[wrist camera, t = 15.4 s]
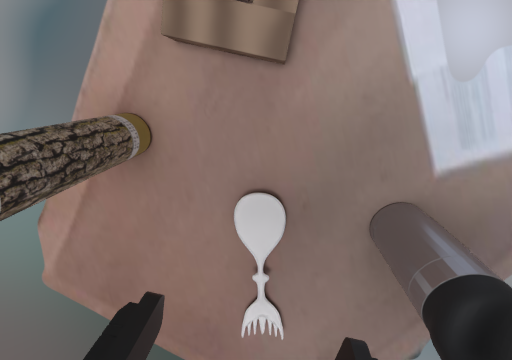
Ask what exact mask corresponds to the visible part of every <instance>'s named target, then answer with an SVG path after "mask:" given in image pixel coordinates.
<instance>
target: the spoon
mask: <svg viewBox="0 0 512 360" xmlns="http://www.w3.org/2000/svg"><path fill="white" fill-rule="evenodd" d="M234 222H235V227H236V231H237V233H238V236H239V237H240V239H241V241H242V242H243V243H244V245H245V246H246V247H247V248H248V250H249V251H250V252H251V253H252V255H253V256H254V258H255V259H256V262H257V266H258V273H256V274H254V275H253V276H252V278H253V280H254V281H255V282H256V283H257V286H258V297H257V299H256V301H254V302H253V303H252V304H251V305H250V306H249V307H248V309H247V310H246V312H245V315H244V320H243V324H242V338H243V336H244V332H245V327H246V326H248V334H249V335H250V329H251V323H252V321H253V327H254V334H255V333H256V326H257V320H258V319H259V322H260V329H261V333H262V334H263V333H264V329H265V323H266V319H267V320H268V326H269V333H270V335H271V328H272V323H273V325H274V331H275V336H277V328H279V330H280V334H281V338H282V340H283V326H282V322H281V318H280V315H279V312H278V311H277V309H276V308H275V307H274V306H273V305H272V304H271V303H270V302H269V301H268V300H267V299H266V297H265V292H264V286H265V283H266V282H267V281H268V280H269V276H268V275H267V274H265V273H264V272H263V265H264V262H265V259H266V258H267V256H268V255H269V254H270V252H271V251H272V250H273V249H274V248H275V246H276V245H277V244H278V242H279V241H280V239H281V238H282V236H283V233H284V230H285V225H286V214H285V210H284V208H283V206H282V204H281V202H280V201H279V200H278V199H277V198H275V197H274V196H272V195H270V194H266V193H251V194H248V195H246V196H244V197H242V198H241V199H240V200H239V201H238V203H237V205H236V207H235V210H234Z"/></svg>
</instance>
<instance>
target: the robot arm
mask: <svg viewBox="0 0 512 360" xmlns="http://www.w3.org/2000/svg"><path fill="white" fill-rule="evenodd" d="M370 234H371V237H372V239H373V241H374V242H375V244H376V246H377V247H378V249H379V250H380V252H381V254H382V256H383V257H384V259H385V260H386V262H387V264H388V265H389V267H390V269H391V270H392V272H393V273H394V275H395V277H396V278H397V280H398V281H399V283H400V285H401V286H402V288H403V290H404V291H405V293H406V294H407V296H408V298H409V299H410V301H411V302H412V304H413V306H414V307H415V309H416V310H417V312H418V314H419V315H420V317H421V319H422V320H423V322H424V323H425V325H426V327H427V328H428V330H429V332H430V337H431V340H432V343H433V345H434V347H435V349H436V351H437V353H438V354H439V356H440V358H441V360H512V288H511V287H510V286H509V285H508V284H506V283H505V282H504V281H503V280H502V279H501V278H499V277H498V276H497V275H496V274H495V273H494V272H492V271H491V270H490V269H489V268H488V267H487V266H485V265H484V264H483V263H482V262H481V261H479V260H478V259H477V258H476V257H475V256H474V255H473V254H471V253H470V251H469V249H468V248H466V247H465V246H464V245H463V244H462V243H461V242H459V241H458V240H457V239H456V238H455V237H454V236H452V235H451V234H450V233H449V232H448V231H447V230H445V229H444V228H443V227H442V226H441V225H440V224H438V223H437V222H436V221H435V220H434V219H433V218H431V217H429V216H428V215H426V214H425V213H424V212H423V211H422V210H421V209H419V208H418V207H417V206H414V205H412V204H408V203H395V204H391V205H388V206H386V207H384V208H382V209H381V210H380V211H379V212H378V213H377V214H376V215H375V216H374V218H373V219H372V221H371V224H370ZM163 308H164V295H161V294H157V293H152V292H146V293H145V294H144V296H143V297H142V299H141V300H140V302H139V303H138V304H137V303H132V302H129V303H128V304H127V305H125V306H124V307H123V308H121V309H120V310H119V311H118V312H117V313H116V314H115V316H114V317H113V319H112V320H111V321H110V323H109V325H108V326H107V327H106V328H105V330H104V331H103V333H102V335H101V336H100V337H99V338H98V340H97V341H96V342H95V344H94V345H93V347H92V348H91V349H90V351H89V352H88V354H87V355H86V356H85V358H84V359H83V360H146V358H147V356H148V354H149V352H150V350H151V348H152V346H153V344H154V342H155V340H156V338H157V335H158V333H159V330H160V327H161V324H162V319H163ZM335 360H378V359H376V358H372V357H371V355H370V352H369V349H368V346H367V344H366V343H365V342H364V341H361V340H357V339H353V338H348V337H346V338H345V339H344V341H343V343H342V345H341V348H340V350H339V352H338V354H337V356H336V358H335Z"/></svg>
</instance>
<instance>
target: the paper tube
mask: <svg viewBox="0 0 512 360" xmlns="http://www.w3.org/2000/svg"><path fill="white" fill-rule="evenodd" d="M149 144H150V131H149V128H148V126H147V125H146V123H145V122H144V121H143V120H142V119H141V118H140V117H138V116H136V115H134V114H130V113H122V114H116V115H109V116H103V117H98V118H92V119H86V120H80V121H74V122H68V123H62V124H56V125H50V126H44V127H38V128H32V129H26V130H20V131H14V132H9V133H2V134H0V221H2V220H4V219H6V218H8V217H10V216H12V215H14V214H16V213H18V212H20V211H22V210H24V209H26V208H28V207H31V206H33V205H35V204H37V203H39V202H41V201H43V200H45V199H47V198H49V197H51V196H54V195H56V194H58V193H60V192H62V191H64V190H66V189H68V188H70V187H72V186H74V185H76V184H78V183H80V182H83V181H85V180H87V179H89V178H91V177H93V176H95V175H97V174H99V173H101V172H103V171H105V170H107V169H110V168H112V167H114V166H116V165H118V164H120V163H122V162H124V161H126V160H128V159H130V158H132V157H134V156H136V155H138V154H140V153H142V152H144V151H145V150H146V149H147V148H148V146H149Z"/></svg>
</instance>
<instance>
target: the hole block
mask: <svg viewBox="0 0 512 360" xmlns="http://www.w3.org/2000/svg"><path fill="white" fill-rule="evenodd" d="M298 1H299V0H253V4H249V3H245V2H240V1H235V0H163V6H162V23H161V34H162V35H164V36H166V37H168V38H171V39H173V40H175V41H179V42H184V43H188V44H193V45H197V46H202V47H207V48H211V49H216V50H220V51H225V52H230V53H234V54H239V55H243V56H248V57H253V58H257V59H262V60H266V61H271V62H276V63H280V64H285V59H286V55H287V50H288V46H289V41H290V37H291V32H292V28H293V23H294V19H295V14H296V10H297V5H298Z"/></svg>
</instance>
